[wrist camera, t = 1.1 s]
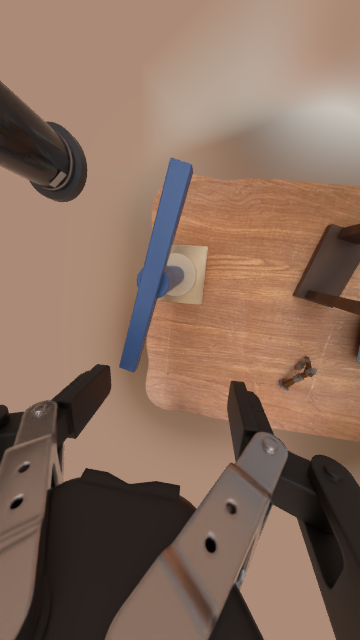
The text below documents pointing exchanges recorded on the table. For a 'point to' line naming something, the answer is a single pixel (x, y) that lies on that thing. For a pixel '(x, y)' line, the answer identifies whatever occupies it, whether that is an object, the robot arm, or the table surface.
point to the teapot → (359, 357)
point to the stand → (332, 268)
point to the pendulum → (160, 263)
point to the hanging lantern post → (299, 377)
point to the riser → (199, 260)
